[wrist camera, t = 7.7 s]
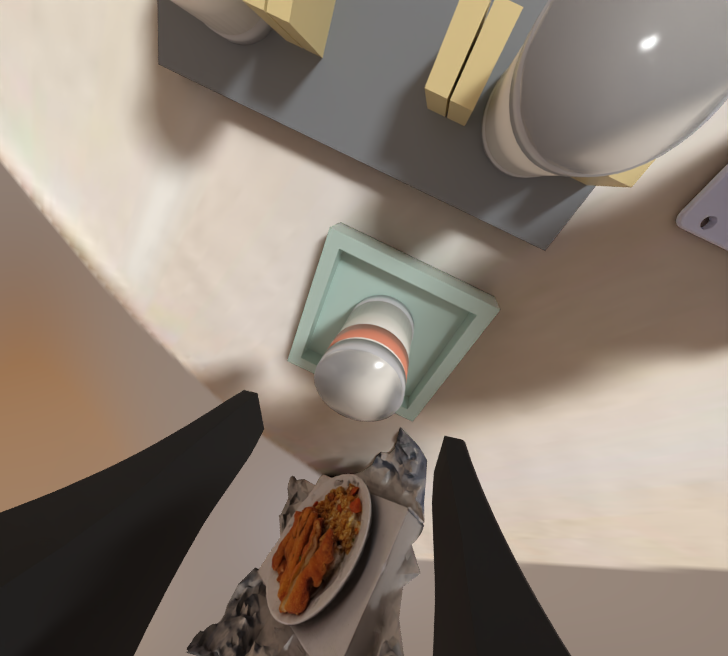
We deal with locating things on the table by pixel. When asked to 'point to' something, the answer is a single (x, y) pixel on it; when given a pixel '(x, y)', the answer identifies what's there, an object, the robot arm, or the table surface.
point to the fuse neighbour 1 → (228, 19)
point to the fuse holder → (389, 93)
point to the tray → (408, 285)
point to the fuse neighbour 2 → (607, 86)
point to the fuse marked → (368, 361)
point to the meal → (332, 567)
